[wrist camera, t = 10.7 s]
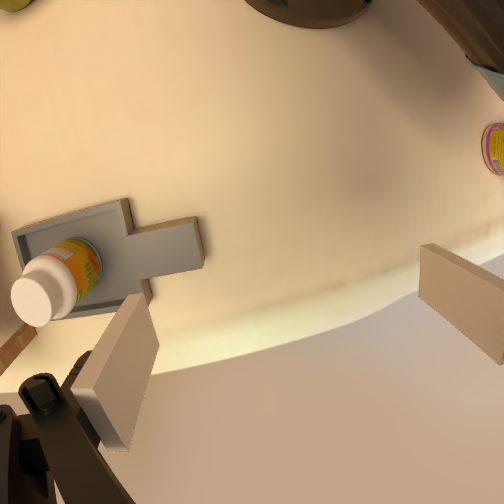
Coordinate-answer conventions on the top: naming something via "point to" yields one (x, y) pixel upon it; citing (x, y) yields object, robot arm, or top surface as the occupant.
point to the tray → (116, 251)
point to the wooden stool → (15, 346)
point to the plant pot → (13, 4)
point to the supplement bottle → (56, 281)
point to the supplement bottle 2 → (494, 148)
